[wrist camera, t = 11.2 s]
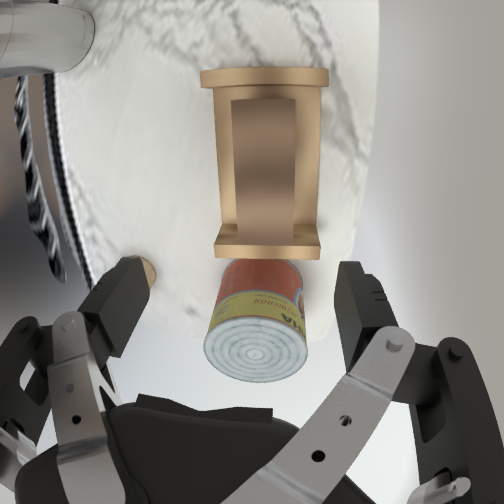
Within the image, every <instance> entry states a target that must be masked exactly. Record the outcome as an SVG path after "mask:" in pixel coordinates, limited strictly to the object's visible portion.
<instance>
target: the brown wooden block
mask: <svg viewBox="0 0 504 504" xmlns="http://www.w3.org/2000/svg"><path fill="white" fill-rule="evenodd" d="M231 117H232V138H233V159H234V178H235V196H236V214H237V231H238V245H272V246H293V224H294V193H295V99H237V100H231Z"/></svg>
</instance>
